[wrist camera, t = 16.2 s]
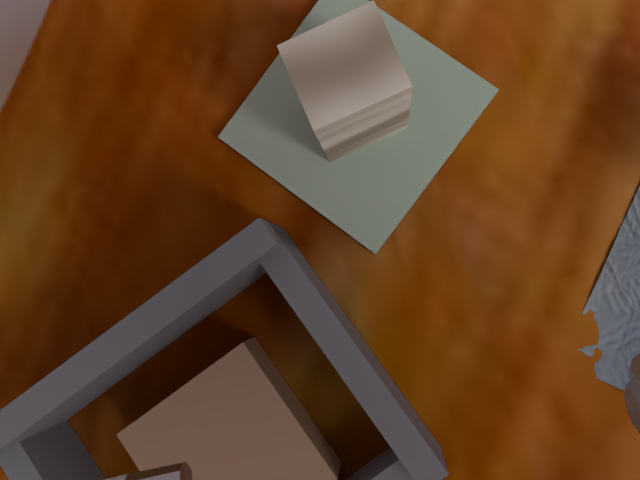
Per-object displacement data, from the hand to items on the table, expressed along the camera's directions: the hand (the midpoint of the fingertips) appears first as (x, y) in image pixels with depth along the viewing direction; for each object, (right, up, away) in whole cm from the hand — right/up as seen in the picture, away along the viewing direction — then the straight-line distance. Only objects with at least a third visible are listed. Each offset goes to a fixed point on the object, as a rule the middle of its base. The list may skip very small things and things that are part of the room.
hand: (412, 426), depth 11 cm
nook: (-7, -9, +26) cm, 28 cm away
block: (0, +11, +25) cm, 28 cm away
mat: (0, +11, +26) cm, 28 cm away
